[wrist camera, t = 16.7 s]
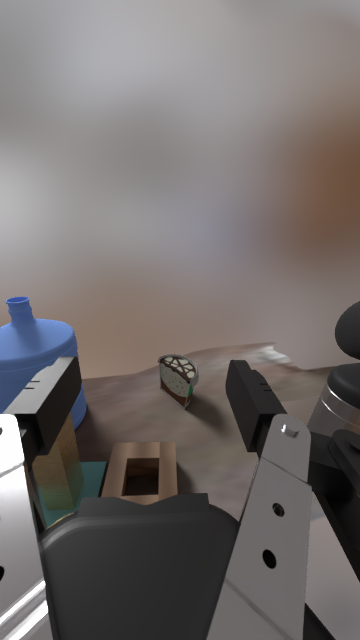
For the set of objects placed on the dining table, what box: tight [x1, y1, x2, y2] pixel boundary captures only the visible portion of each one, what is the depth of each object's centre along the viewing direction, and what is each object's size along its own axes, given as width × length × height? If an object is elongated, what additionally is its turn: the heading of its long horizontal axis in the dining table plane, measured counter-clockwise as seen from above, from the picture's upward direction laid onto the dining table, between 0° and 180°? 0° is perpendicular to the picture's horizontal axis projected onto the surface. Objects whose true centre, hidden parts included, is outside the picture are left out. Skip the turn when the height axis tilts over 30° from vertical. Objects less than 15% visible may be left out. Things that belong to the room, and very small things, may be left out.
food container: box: [158, 354, 199, 410], centre depth 55 cm, size 12×6×10 cm, turn 44°
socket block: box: [101, 442, 178, 505], centre depth 34 cm, size 11×11×5 cm
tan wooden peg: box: [32, 412, 84, 510], centre depth 30 cm, size 4×4×18 cm
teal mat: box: [38, 461, 107, 527], centre depth 34 cm, size 10×10×1 cm
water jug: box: [0, 297, 86, 430], centre depth 41 cm, size 16×16×28 cm
